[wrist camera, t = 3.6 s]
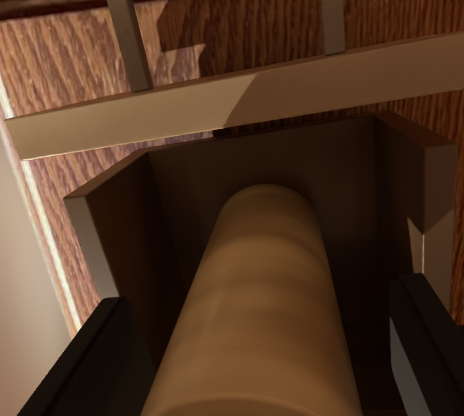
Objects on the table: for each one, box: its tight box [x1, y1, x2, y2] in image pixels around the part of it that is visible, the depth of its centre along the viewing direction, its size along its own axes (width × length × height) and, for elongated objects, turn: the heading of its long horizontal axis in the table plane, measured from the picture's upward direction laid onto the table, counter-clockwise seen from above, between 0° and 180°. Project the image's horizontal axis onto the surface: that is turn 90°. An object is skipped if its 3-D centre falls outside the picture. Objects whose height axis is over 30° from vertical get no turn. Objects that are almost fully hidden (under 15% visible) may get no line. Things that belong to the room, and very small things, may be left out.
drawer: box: [4, 0, 464, 410], centre depth 14 cm, size 18×12×7 cm
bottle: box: [140, 184, 363, 416], centre depth 11 cm, size 4×4×12 cm
